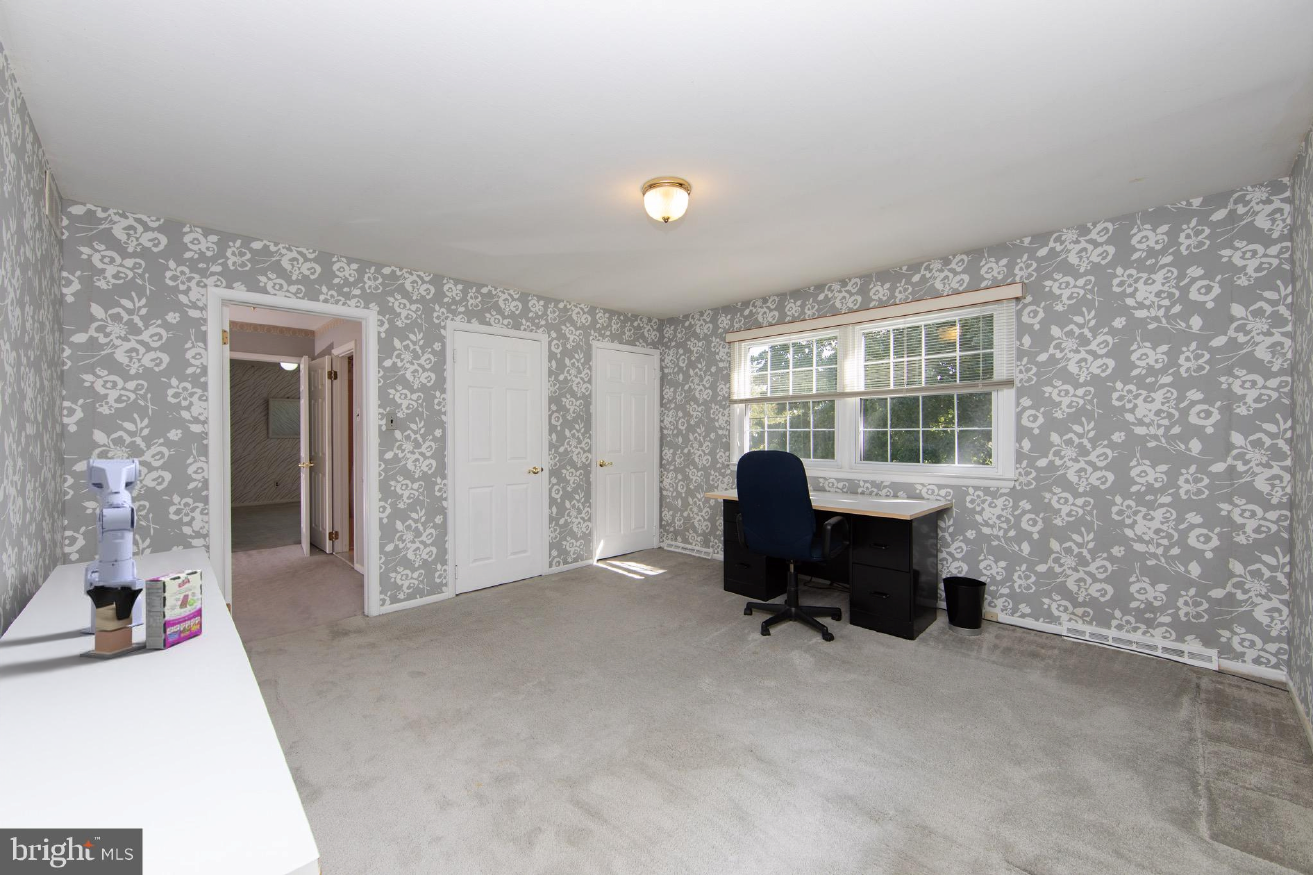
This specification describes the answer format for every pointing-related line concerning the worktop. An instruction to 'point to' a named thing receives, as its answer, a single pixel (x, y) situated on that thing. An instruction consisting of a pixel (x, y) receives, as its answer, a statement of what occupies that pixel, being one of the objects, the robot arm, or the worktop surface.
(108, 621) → the maple cube
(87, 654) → the build plate
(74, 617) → the worktop surface
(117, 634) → the terracotta cube
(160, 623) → the candy bar box
